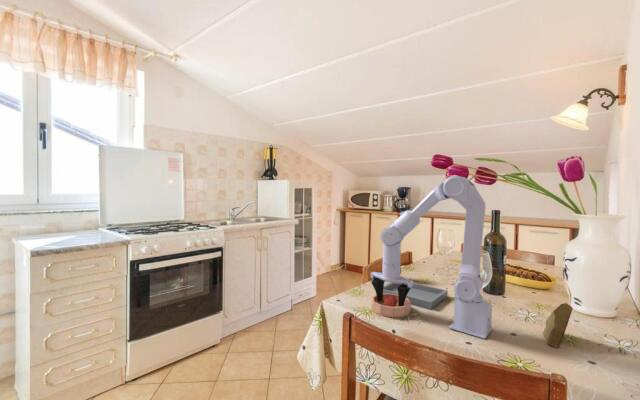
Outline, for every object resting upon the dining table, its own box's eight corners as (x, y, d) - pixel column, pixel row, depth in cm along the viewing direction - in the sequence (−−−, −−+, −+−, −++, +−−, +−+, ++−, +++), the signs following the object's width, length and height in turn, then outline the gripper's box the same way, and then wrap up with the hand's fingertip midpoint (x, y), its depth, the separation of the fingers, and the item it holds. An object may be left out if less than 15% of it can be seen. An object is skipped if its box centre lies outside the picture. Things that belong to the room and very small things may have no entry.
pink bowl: (416, 308, 102) (416, 299, 102) (398, 321, 92) (398, 310, 92) (383, 299, 110) (383, 290, 110) (364, 310, 100) (364, 300, 100)
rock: (569, 346, 74) (592, 333, 78) (545, 311, 78) (568, 301, 82) (533, 353, 83) (556, 341, 87) (514, 321, 87) (536, 311, 91)
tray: (447, 297, 113) (447, 290, 113) (430, 309, 101) (431, 302, 101) (397, 285, 127) (397, 279, 126) (377, 295, 115) (378, 288, 114)
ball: (398, 307, 101) (399, 295, 101) (393, 310, 98) (393, 298, 98) (388, 303, 104) (388, 292, 104) (382, 307, 101) (382, 295, 101)
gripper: (417, 264, 99) (416, 306, 99) (378, 257, 108) (377, 295, 109) (408, 269, 93) (406, 312, 94) (367, 261, 103) (366, 300, 104)
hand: (390, 303), depth 101 cm, fingers open, 7 cm apart
